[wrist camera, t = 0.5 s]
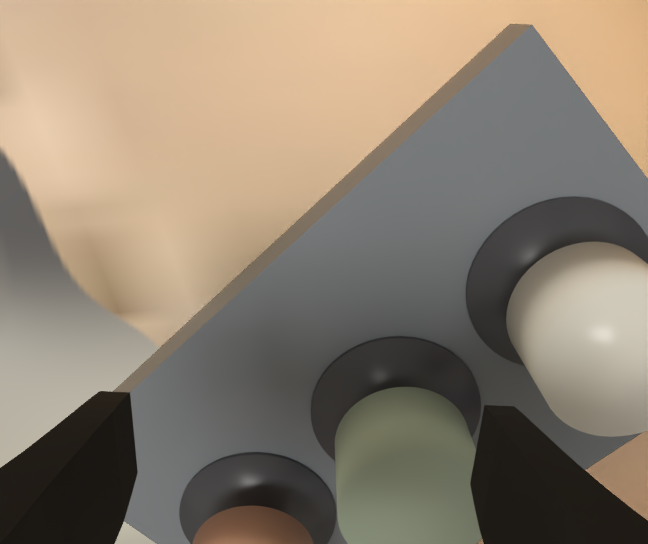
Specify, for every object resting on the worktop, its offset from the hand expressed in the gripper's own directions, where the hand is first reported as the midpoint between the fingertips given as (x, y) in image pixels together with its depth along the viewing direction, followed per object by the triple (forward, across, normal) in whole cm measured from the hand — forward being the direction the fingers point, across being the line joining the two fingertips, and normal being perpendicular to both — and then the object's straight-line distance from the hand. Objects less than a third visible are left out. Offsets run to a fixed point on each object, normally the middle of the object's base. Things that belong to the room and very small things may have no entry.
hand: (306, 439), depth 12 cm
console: (+10, -3, +5) cm, 11 cm away
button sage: (+6, -3, +5) cm, 8 cm away
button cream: (+6, -8, 0) cm, 10 cm away
